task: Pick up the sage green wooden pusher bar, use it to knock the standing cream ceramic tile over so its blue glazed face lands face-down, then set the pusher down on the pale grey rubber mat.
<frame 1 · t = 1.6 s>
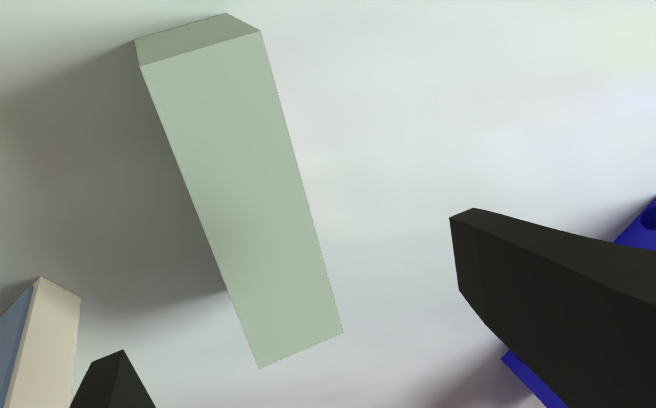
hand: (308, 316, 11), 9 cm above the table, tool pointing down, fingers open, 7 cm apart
pusher: (228, 164, 19), on the table
cable clip: (591, 293, 30), on the table
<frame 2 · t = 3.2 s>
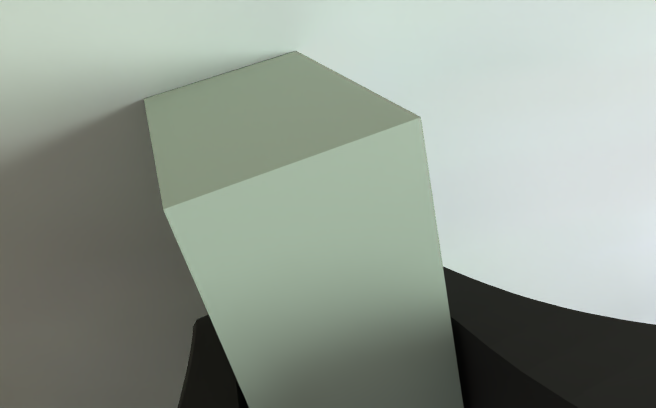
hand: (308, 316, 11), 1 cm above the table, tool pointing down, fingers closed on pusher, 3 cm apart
pusher: (289, 281, 12), on the table, touching gripper
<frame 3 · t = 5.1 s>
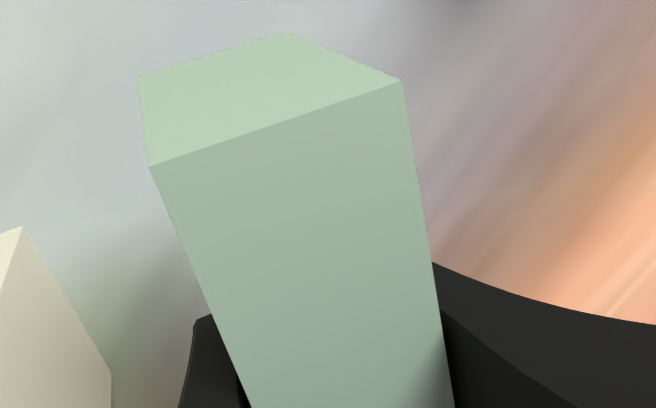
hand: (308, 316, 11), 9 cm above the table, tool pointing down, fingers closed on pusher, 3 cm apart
pusher: (282, 263, 13), point 8 cm above the table, touching gripper
tile: (48, 314, 19), on the table
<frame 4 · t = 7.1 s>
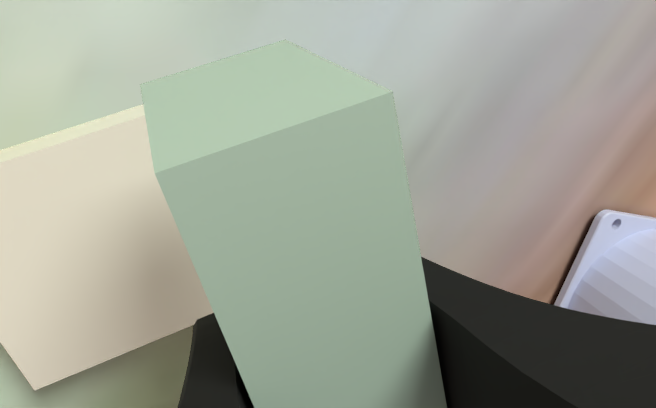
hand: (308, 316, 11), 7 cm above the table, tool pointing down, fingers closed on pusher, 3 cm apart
pusher: (281, 263, 13), point 5 cm above the table, touching gripper
tile: (240, 192, 17), on the table, tilted 90°
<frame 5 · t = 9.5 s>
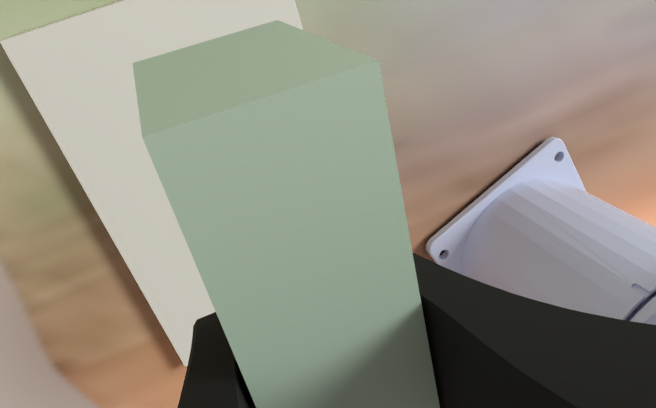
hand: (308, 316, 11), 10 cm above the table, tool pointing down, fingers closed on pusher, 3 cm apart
pusher: (273, 245, 13), point 8 cm above the table, touching gripper
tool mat: (224, 180, 20), on the table
when the fingers open (3 cm above the table, at t = 11.3 s): pusher stays where it is, resting on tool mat.
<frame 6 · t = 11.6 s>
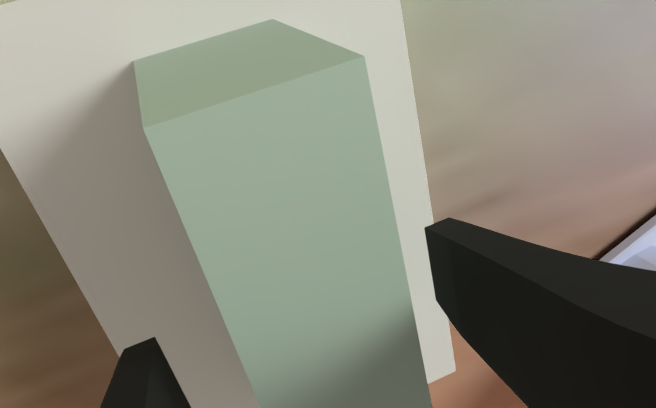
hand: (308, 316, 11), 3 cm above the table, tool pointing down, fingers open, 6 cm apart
pusher: (270, 236, 14), resting on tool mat
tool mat: (269, 241, 14), on the table
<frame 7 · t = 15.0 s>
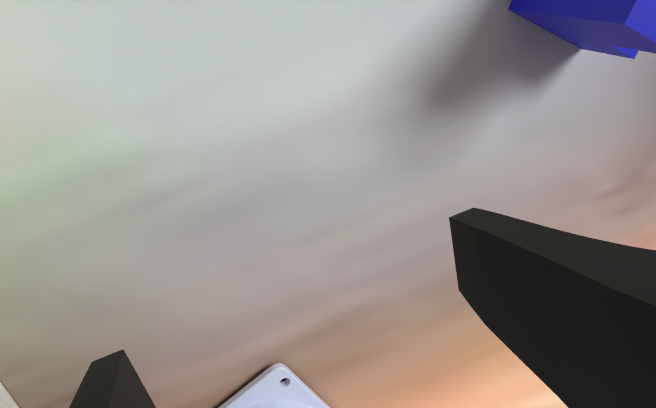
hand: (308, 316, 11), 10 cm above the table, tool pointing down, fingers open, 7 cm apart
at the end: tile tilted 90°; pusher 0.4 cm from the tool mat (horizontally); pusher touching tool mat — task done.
